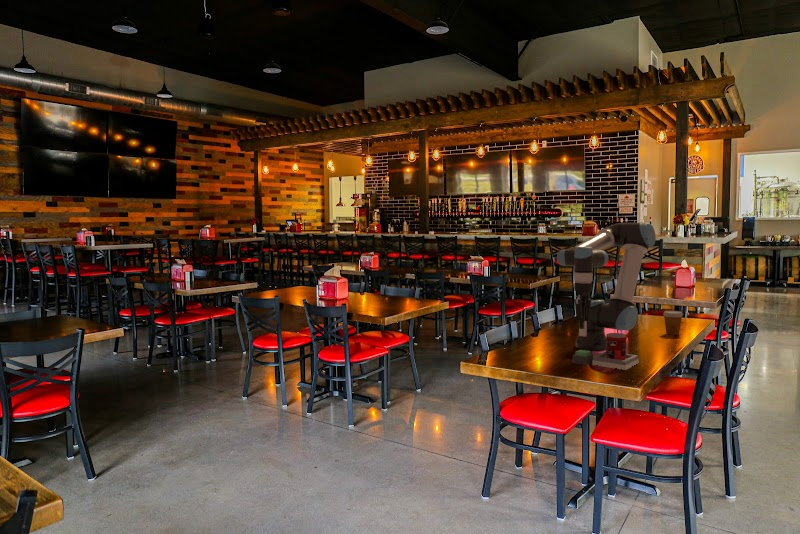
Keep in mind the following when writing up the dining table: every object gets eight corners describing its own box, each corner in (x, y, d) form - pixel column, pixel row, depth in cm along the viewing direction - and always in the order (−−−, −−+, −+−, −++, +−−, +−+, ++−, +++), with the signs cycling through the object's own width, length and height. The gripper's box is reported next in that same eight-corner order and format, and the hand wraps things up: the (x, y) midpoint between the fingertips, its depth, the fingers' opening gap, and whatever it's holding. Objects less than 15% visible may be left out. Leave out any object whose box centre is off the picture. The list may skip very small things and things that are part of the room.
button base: (579, 359, 258) (579, 352, 258) (594, 362, 253) (594, 354, 253) (571, 362, 253) (571, 355, 252) (587, 365, 248) (587, 357, 248)
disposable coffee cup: (686, 334, 308) (686, 312, 308) (676, 336, 303) (676, 314, 302) (669, 331, 316) (669, 310, 315) (659, 333, 311) (659, 311, 310)
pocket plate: (606, 358, 259) (606, 350, 259) (638, 363, 250) (638, 355, 249) (592, 364, 249) (592, 356, 248) (625, 370, 239) (625, 361, 239)
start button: (580, 356, 256) (580, 349, 256) (590, 357, 253) (590, 351, 253) (575, 358, 253) (575, 351, 252) (585, 360, 249) (585, 353, 249)
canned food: (603, 357, 253) (603, 333, 252) (621, 357, 253) (622, 332, 252) (609, 361, 245) (609, 336, 244) (628, 361, 245) (628, 336, 244)
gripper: (581, 280, 257) (581, 332, 259) (568, 282, 248) (567, 337, 249) (598, 281, 252) (597, 334, 254) (584, 283, 243) (584, 339, 244)
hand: (582, 335), depth 252 cm, fingers closed
